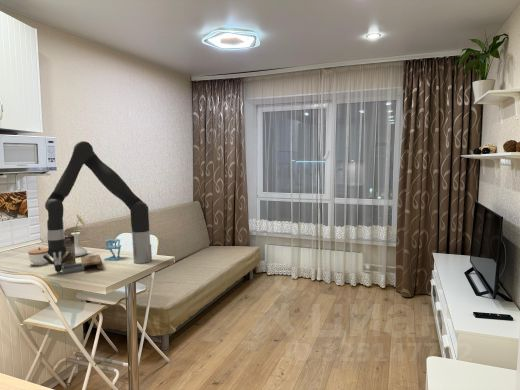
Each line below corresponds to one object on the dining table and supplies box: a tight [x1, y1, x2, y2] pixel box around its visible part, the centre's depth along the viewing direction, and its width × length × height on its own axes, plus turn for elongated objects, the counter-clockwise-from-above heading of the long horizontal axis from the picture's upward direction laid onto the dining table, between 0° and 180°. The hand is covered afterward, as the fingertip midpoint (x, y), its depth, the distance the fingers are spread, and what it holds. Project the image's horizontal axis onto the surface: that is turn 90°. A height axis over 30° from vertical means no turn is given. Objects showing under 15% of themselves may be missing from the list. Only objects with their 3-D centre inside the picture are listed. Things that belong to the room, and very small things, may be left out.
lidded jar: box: [27, 247, 51, 266], centre depth 202 cm, size 11×11×9 cm
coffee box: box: [52, 234, 77, 268], centre depth 198 cm, size 9×6×16 cm
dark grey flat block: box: [61, 262, 85, 275], centre depth 188 cm, size 10×8×2 cm
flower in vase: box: [70, 213, 88, 257], centre depth 219 cm, size 13×11×25 cm
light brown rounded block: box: [80, 254, 103, 271], centre depth 193 cm, size 9×16×5 cm, turn 28°
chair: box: [103, 238, 122, 262], centre depth 210 cm, size 8×8×12 cm
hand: (58, 271), depth 185 cm, fingers closed
